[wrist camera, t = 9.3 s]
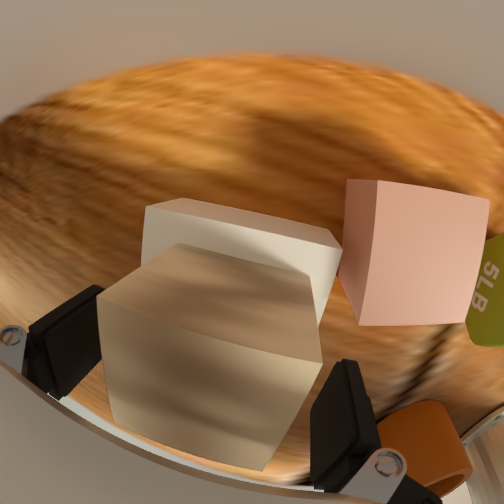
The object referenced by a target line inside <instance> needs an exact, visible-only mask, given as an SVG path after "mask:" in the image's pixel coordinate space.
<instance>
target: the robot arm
mask: <svg viewBox="0 0 504 504" xmlns="http://www.w3.org/2000/svg"><path fill="white" fill-rule="evenodd" d="M104 290H106V289H104V288H102V287H100V286H97V285H92V286H90V287H88V288H87V289H85V290H84V291H82V292H80V293H79V294H77V295H76V296H74V297H73V298H71V299H69V300H68V301H66V302H65V303H63V304H62V305H60V306H59V307H57V308H55V309H54V310H52V311H51V312H49V313H48V314H46V315H45V316H43V317H42V318H40V319H39V320H37V321H36V322H35V323H33V324H32V325H30V326H29V327H28V328H29V333H26V331H25V330H24V329H23V328H22V327H20V326H17V325H8V326H5V327H3V328H1V329H0V504H443V503H442V500H441V499H440V497H439V496H438V495H437V494H435V493H434V492H432V491H430V490H429V489H427V488H426V487H424V486H423V485H421V484H420V483H418V482H417V481H415V480H414V479H412V478H411V477H409V476H408V475H406V474H405V473H406V471H407V462H406V460H405V458H404V457H403V455H402V454H401V453H400V452H398V451H397V450H394V449H392V448H382V446H381V441H380V437H379V433H378V428H377V424H376V420H375V416H374V412H373V408H372V404H371V401H370V398H369V396H367V394H366V390H365V386H364V383H363V379H362V375H361V372H360V368H359V365H358V362H357V361H353V360H348V359H342V360H341V362H336V364H335V365H334V367H333V369H332V371H331V373H330V375H329V377H328V379H327V381H326V383H325V384H324V386H323V388H322V390H321V392H320V393H319V395H318V397H317V399H316V401H315V402H314V404H313V406H312V408H311V412H310V481H311V482H314V489H319V490H324V493H323V492H313V491H303V490H294V489H286V488H279V487H272V486H266V485H260V484H255V483H250V482H245V481H239V480H235V479H231V478H227V477H223V476H218V475H215V474H211V473H208V472H204V471H201V470H197V469H195V468H192V467H188V466H185V465H182V464H179V463H177V462H174V461H171V460H168V459H166V458H163V457H161V456H158V455H156V454H153V453H151V452H148V451H146V450H144V449H141V448H139V447H137V446H135V445H133V444H130V443H128V442H126V441H124V440H122V439H120V438H118V437H116V436H114V435H112V434H110V433H108V432H107V431H105V430H103V429H101V428H99V427H97V426H96V425H94V424H92V423H90V422H89V421H87V420H85V419H83V418H82V417H80V416H79V415H77V414H76V413H74V412H72V411H71V410H69V409H68V408H66V407H65V406H63V405H62V404H60V403H59V402H57V401H56V400H55V399H57V400H58V401H59V400H60V399H61V398H62V397H63V396H64V397H65V396H67V395H68V394H69V393H70V392H71V391H72V390H73V389H74V388H75V387H76V385H77V384H78V383H79V382H80V381H81V380H82V379H83V378H84V377H85V376H86V375H87V374H88V373H89V372H90V371H91V370H92V369H93V368H94V366H95V365H96V364H97V363H98V362H99V361H100V360H101V359H102V353H101V345H100V336H99V326H98V313H97V295H99V294H100V293H102V292H103V291H104ZM48 392H49V394H50V395H51V396H52V397H54V398H55V399H53V398H52V397H50V396H49V395H47V393H48ZM460 440H461V442H462V444H463V446H464V449H465V451H466V453H467V455H468V458H469V460H470V463H471V465H472V468H473V473H472V474H471V475H470V477H469V478H468V479H467V480H466V483H467V487H468V490H469V493H470V496H471V500H472V503H473V504H504V406H502V407H500V408H499V409H497V410H495V411H494V412H492V413H491V414H489V415H488V416H486V417H485V418H484V419H482V420H481V421H480V422H479V423H477V424H476V425H475V426H474V427H472V428H471V429H470V430H469V431H468V432H467V433H466V434H464V435H463V436H462V437H461V438H460Z"/></svg>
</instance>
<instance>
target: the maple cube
mask: <svg viewBox="0 0 504 504" xmlns="http://www.w3.org/2000/svg"><path fill="white" fill-rule="evenodd" d="M97 313H98V326H99V336H100V345H101V353H102V361H103V368H104V374H105V380H106V385H107V391H108V396H109V401H110V405H111V410H112V414H113V418H114V422H115V424H117V425H119V426H122V427H124V428H126V429H128V430H130V431H132V432H134V433H137V434H139V435H141V436H143V437H146V438H148V439H151V440H153V441H156V442H158V443H161V444H163V445H166V446H169V447H171V448H174V449H177V450H180V451H183V452H186V453H189V454H192V455H195V456H198V457H202V458H205V459H209V460H212V461H216V462H220V463H224V464H228V465H232V466H237V467H241V468H246V469H251V470H256V471H263V469H264V468H265V466H266V465H267V463H268V462H269V460H270V459H271V457H272V456H273V454H274V453H275V451H276V449H277V448H278V446H279V445H280V443H281V441H282V440H283V438H284V436H285V435H286V433H287V431H288V430H289V428H290V426H291V424H292V423H293V421H294V419H295V417H296V415H297V414H298V412H299V410H300V408H301V406H302V405H303V403H304V401H305V399H306V397H307V395H308V393H309V391H310V389H311V387H312V385H313V383H314V381H315V379H316V377H317V375H318V373H319V371H320V369H321V367H322V365H323V360H322V352H321V345H320V338H319V331H318V324H317V318H316V311H315V305H314V299H313V293H312V287H311V281H310V276H307V275H303V274H299V273H295V272H291V271H287V270H283V269H279V268H275V267H271V266H267V265H263V264H260V263H256V262H252V261H248V260H244V259H240V258H236V257H232V256H228V255H225V254H221V253H217V252H213V251H209V250H205V249H201V248H198V247H194V246H190V245H186V244H182V243H179V242H178V243H177V244H175V245H174V246H172V247H170V248H169V249H167V250H166V251H164V252H162V253H161V254H159V255H158V256H156V257H155V258H153V259H151V260H150V261H148V262H147V263H145V264H144V265H142V266H141V267H139V268H137V269H136V270H134V271H133V272H131V273H130V274H128V275H127V276H125V277H124V278H122V279H121V280H119V281H118V282H116V283H115V284H113V285H112V286H110V287H109V288H107V289H106V290H104V291H103V292H102V293H100V294H99V295H97Z"/></svg>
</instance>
